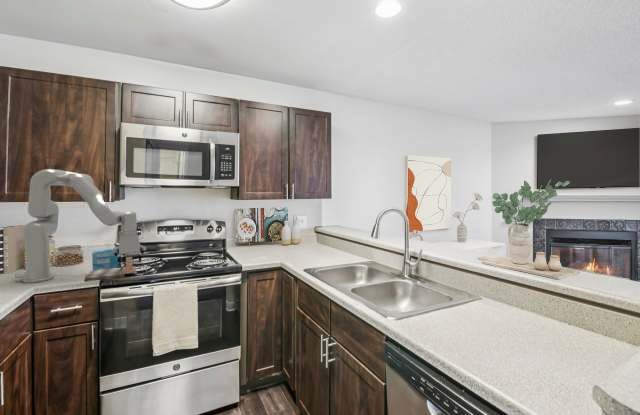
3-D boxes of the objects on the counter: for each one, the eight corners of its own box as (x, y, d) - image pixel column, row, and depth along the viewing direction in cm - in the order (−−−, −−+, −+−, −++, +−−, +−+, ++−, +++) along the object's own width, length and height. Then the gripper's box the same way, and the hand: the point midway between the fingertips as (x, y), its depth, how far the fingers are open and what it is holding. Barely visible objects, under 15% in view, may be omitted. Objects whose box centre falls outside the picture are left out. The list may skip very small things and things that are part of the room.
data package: (95, 272, 182) (94, 252, 181) (92, 271, 185) (92, 251, 184) (118, 268, 192) (117, 249, 191) (115, 267, 194) (114, 248, 194)
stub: (122, 273, 173) (122, 260, 173) (123, 270, 181) (123, 257, 180) (135, 272, 176) (135, 259, 176) (135, 269, 184) (135, 256, 184)
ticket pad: (84, 281, 164) (84, 274, 163) (86, 276, 172) (86, 270, 172) (124, 277, 173) (124, 270, 173) (124, 273, 182) (124, 266, 181)
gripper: (110, 235, 170) (111, 265, 171) (146, 233, 179) (147, 262, 180) (111, 233, 176) (112, 263, 177) (146, 231, 185) (146, 259, 186)
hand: (129, 262), depth 178 cm, fingers open, 9 cm apart
